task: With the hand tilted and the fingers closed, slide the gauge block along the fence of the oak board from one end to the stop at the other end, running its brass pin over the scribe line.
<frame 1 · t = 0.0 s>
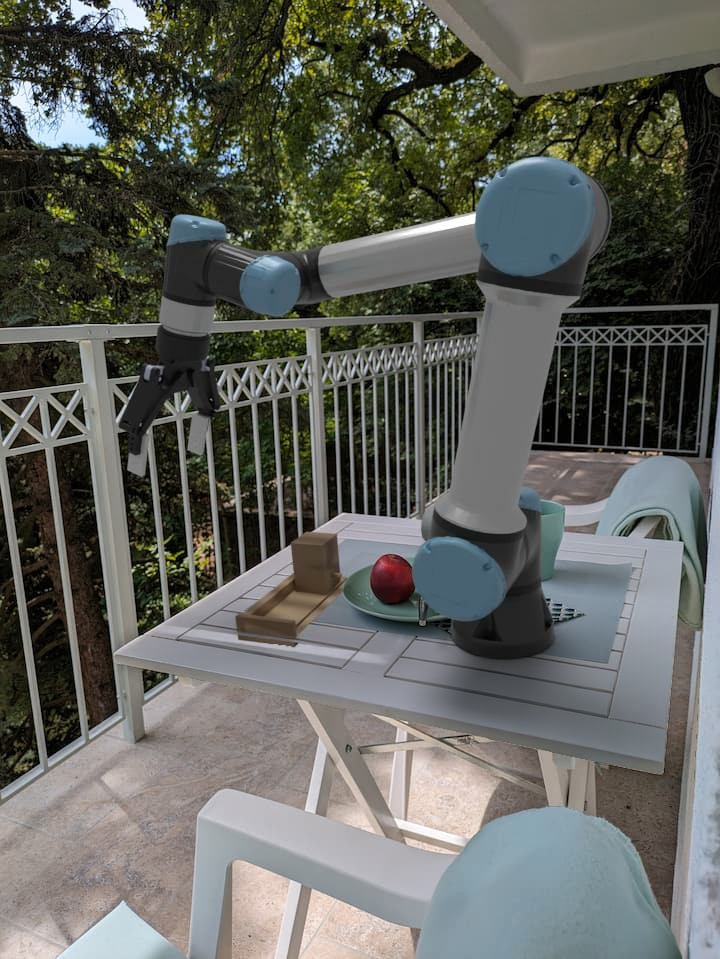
hand: (167, 462, 114), 28 cm above the table, tool tilted 20°, fingers open, 13 cm apart
ceramic mug: (448, 542, 152), on the table
gauge block: (318, 586, 129), point 1 cm above the table, touching board
board: (301, 610, 123), on the table
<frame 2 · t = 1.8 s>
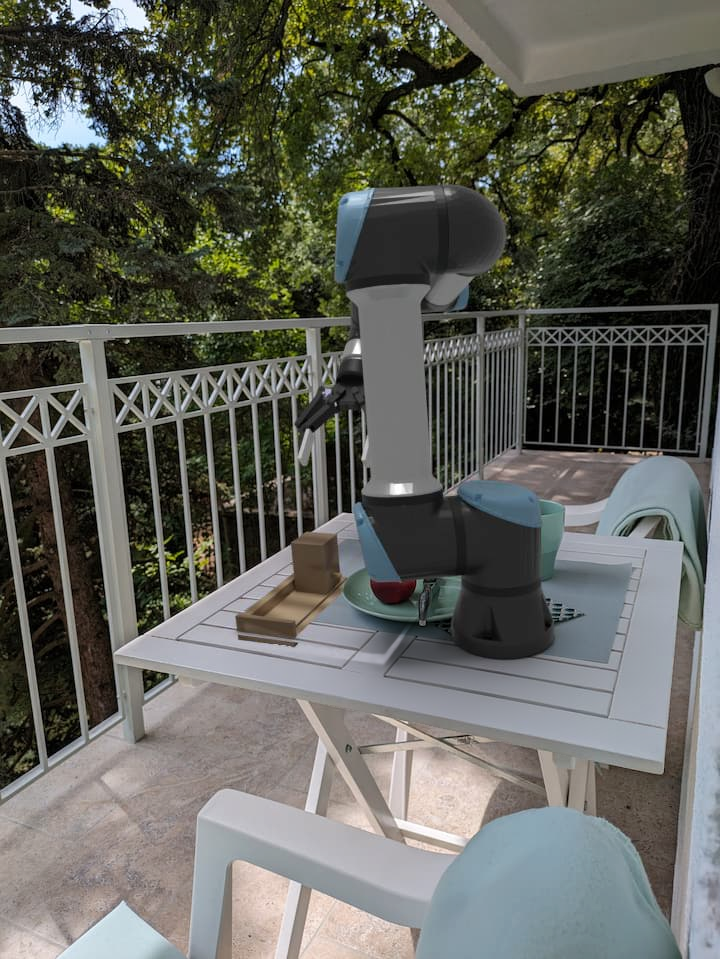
hand: (333, 463, 133), 21 cm above the table, tool tilted 45°, fingers open, 12 cm apart
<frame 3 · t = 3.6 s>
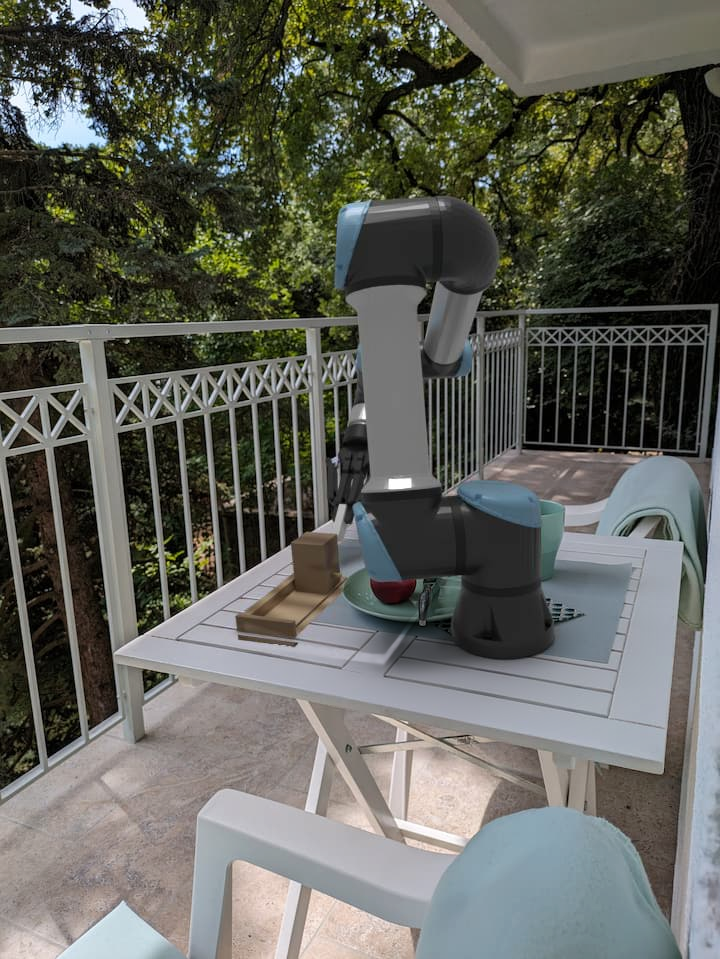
hand: (337, 538, 136), 7 cm above the table, tool tilted 45°, fingers closed
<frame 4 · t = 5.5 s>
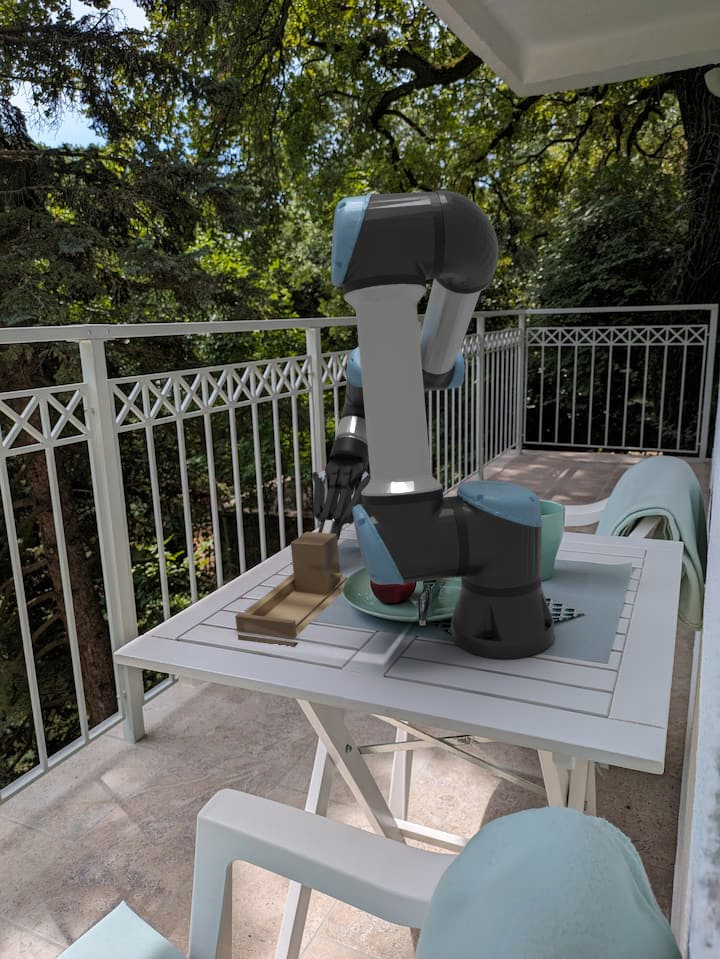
hand: (323, 555, 132), 6 cm above the table, tool tilted 45°, fingers closed
gauge block: (318, 586, 129), point 2 cm above the table, touching gripper
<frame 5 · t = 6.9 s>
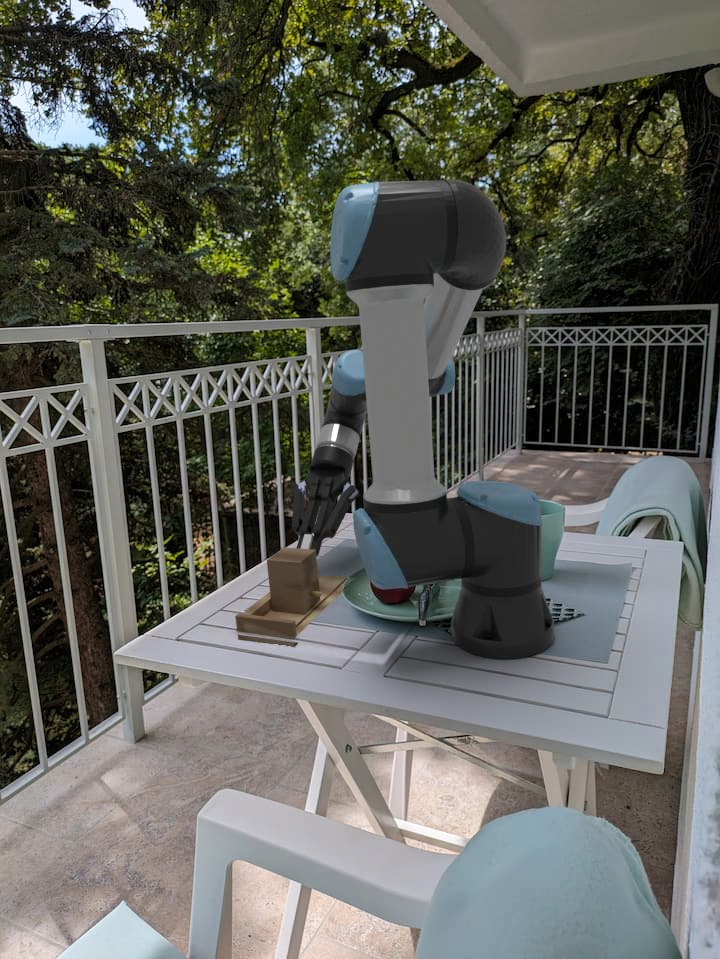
hand: (301, 571, 125), 6 cm above the table, tool tilted 45°, fingers closed
gauge block: (296, 605, 122), point 2 cm above the table
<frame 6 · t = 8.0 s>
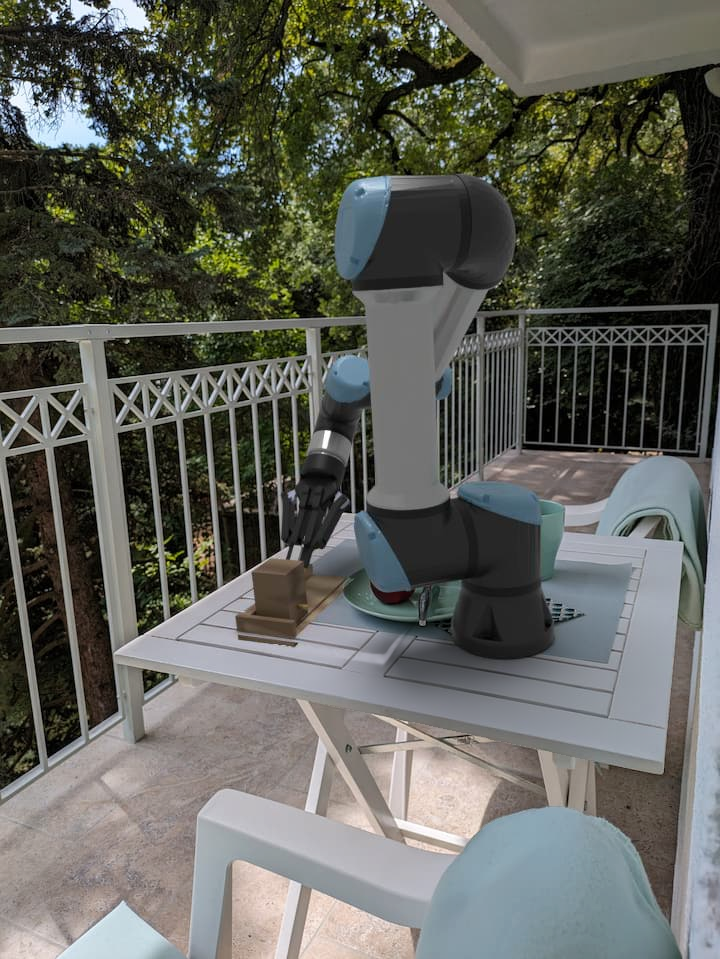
hand: (290, 584, 120), 6 cm above the table, tool tilted 45°, fingers closed
gauge block: (283, 618, 117), point 1 cm above the table, touching board, gripper
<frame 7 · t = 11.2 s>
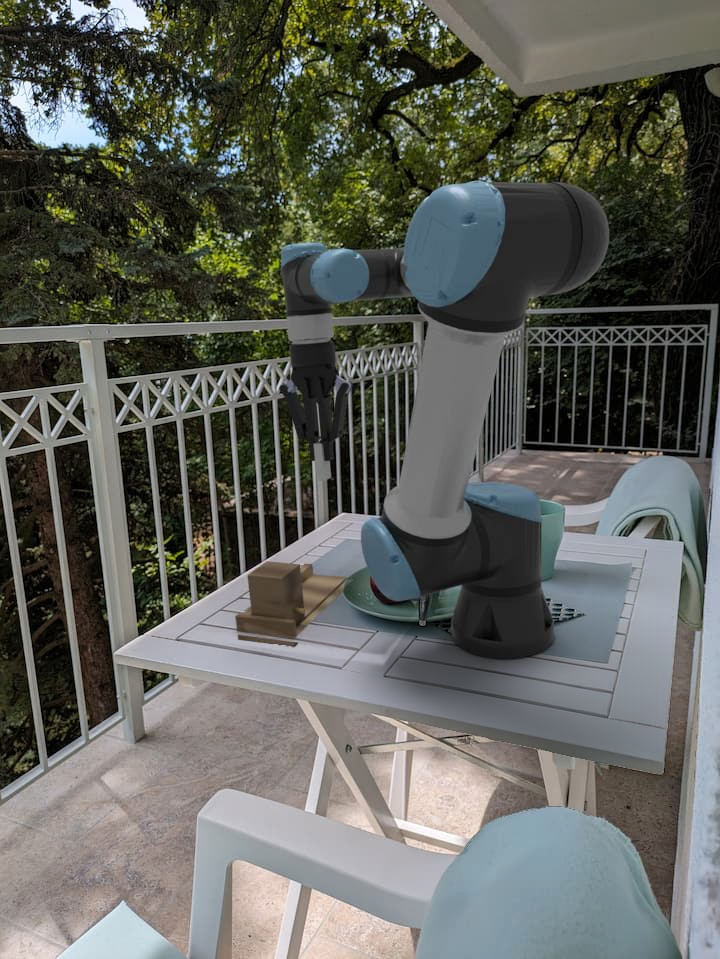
hand: (324, 478, 127), 20 cm above the table, tool pointing down, fingers closed
gauge block: (279, 622, 116), point 1 cm above the table, touching board
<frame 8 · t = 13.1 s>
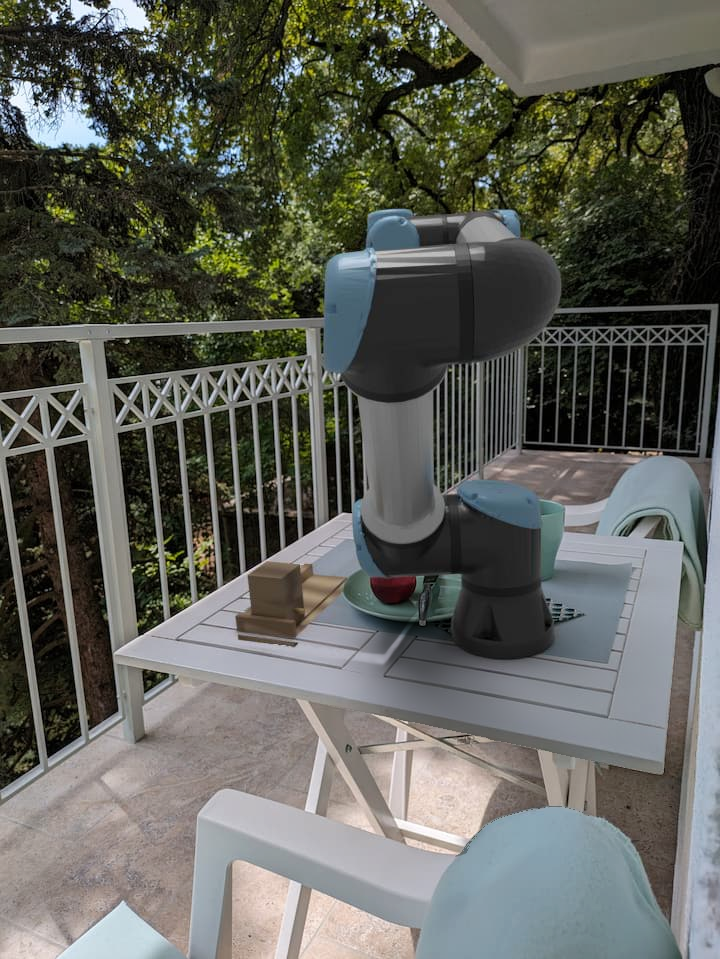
hand: (403, 450, 126), 24 cm above the table, tool pointing down, fingers closed
at the end: gauge block inside the target area (1.8 cm from its centre), point 1.5 cm above the table; gauge block tilted 0°; gauge block moved 14.7 cm from its start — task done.
